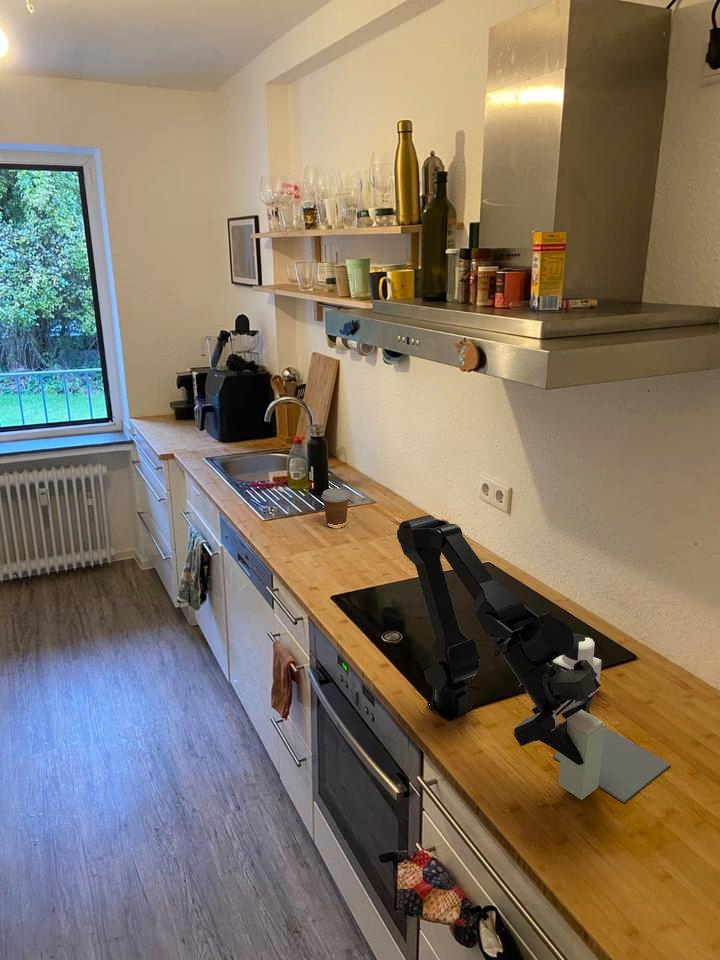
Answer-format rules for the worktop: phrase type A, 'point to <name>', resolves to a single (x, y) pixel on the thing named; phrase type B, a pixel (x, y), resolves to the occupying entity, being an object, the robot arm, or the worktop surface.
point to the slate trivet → (625, 766)
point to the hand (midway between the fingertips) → (589, 756)
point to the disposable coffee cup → (336, 505)
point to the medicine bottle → (580, 656)
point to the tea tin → (583, 755)
